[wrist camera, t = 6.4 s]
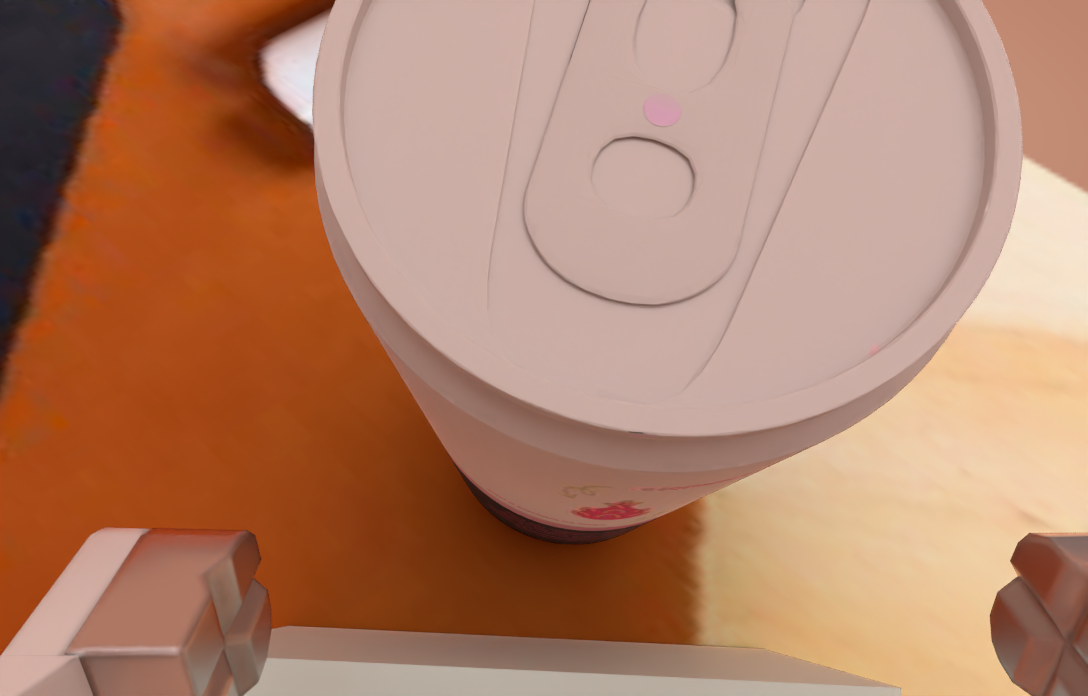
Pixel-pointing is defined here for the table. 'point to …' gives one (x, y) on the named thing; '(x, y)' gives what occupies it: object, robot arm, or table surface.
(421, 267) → the beverage can
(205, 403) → the table surface
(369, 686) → the l-shaped corner panel
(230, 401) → the table surface
